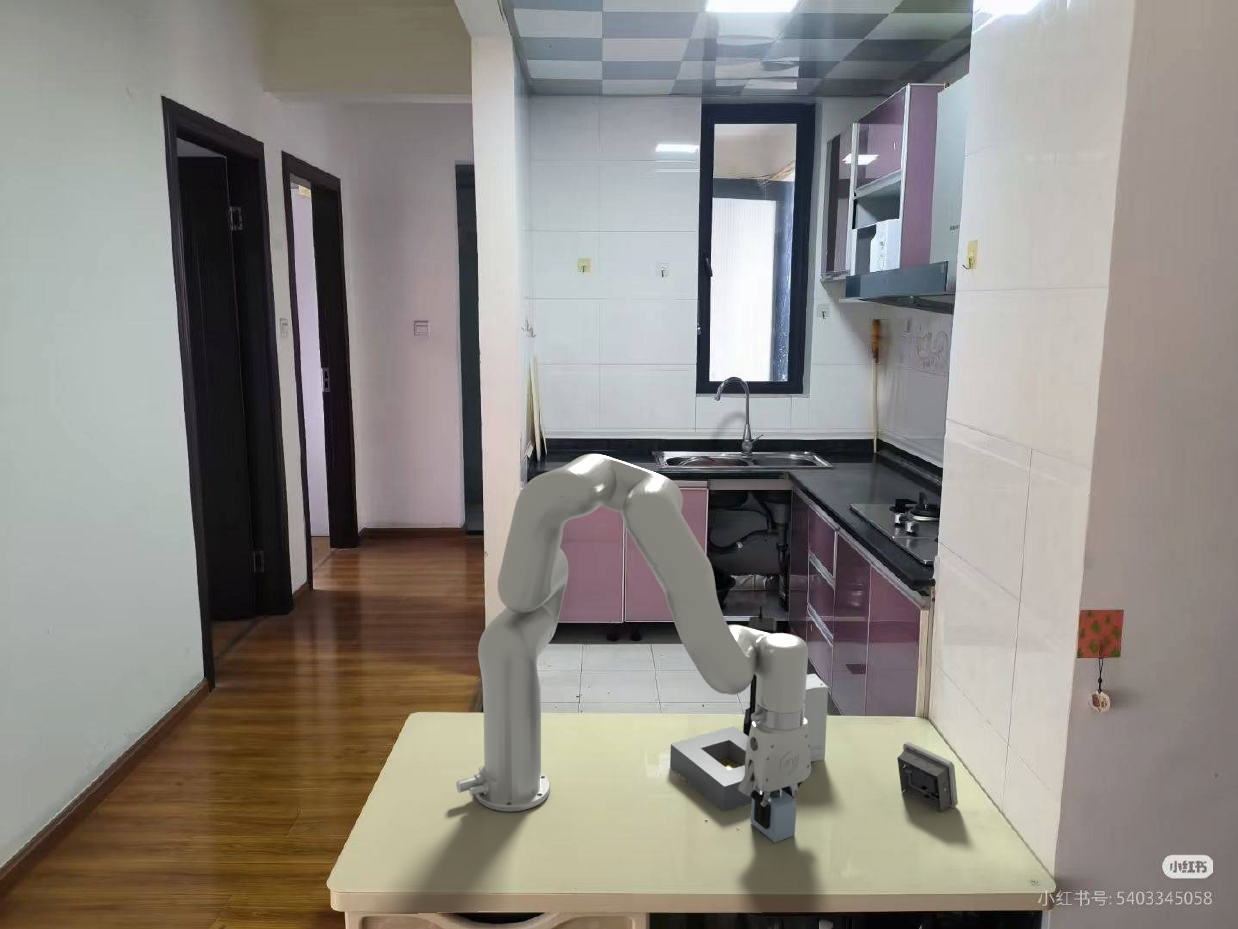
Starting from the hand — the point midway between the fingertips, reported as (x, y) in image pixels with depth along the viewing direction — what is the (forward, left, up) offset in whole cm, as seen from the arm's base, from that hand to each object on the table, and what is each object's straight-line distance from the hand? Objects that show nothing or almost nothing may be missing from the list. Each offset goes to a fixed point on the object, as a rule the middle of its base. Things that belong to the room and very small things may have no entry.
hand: (773, 819), depth 144 cm
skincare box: (+19, +16, -2) cm, 25 cm away
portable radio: (+18, +26, -2) cm, 32 cm away
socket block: (+3, +16, -2) cm, 16 cm away
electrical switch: (+28, -6, -2) cm, 29 cm away
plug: (0, 0, -2) cm, 2 cm away
